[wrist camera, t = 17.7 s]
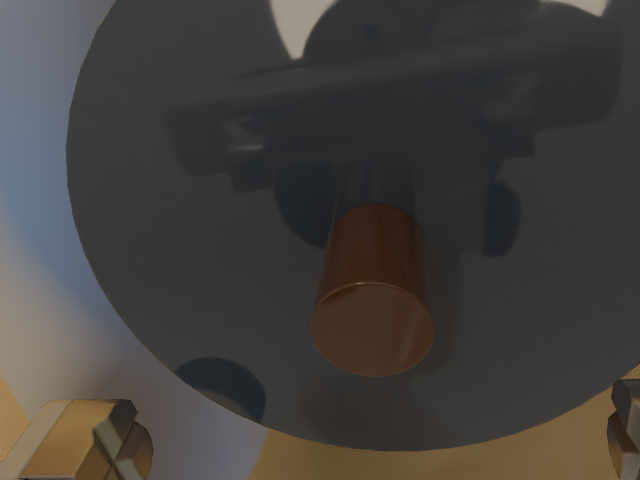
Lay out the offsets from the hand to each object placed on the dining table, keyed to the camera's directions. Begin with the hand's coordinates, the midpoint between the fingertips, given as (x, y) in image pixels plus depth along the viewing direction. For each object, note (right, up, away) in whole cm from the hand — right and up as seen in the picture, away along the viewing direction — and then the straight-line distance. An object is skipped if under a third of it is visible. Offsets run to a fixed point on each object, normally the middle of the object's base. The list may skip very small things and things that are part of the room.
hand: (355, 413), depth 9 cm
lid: (+1, +3, +5) cm, 6 cm away
